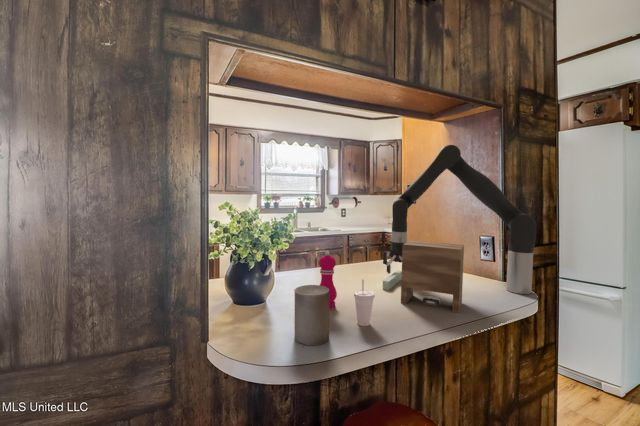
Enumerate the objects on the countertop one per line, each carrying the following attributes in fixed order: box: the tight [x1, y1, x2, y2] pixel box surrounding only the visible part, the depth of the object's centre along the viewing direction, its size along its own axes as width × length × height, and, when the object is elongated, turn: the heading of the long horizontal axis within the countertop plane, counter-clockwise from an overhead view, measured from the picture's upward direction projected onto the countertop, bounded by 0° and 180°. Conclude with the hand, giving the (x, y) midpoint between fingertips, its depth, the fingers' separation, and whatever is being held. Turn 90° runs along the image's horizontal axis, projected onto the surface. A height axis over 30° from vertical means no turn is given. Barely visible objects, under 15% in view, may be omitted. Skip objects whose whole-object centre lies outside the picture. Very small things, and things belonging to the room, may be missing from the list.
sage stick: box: [382, 270, 402, 291], centre depth 149 cm, size 23×2×4 cm, turn 152°
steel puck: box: [422, 295, 441, 307], centre depth 123 cm, size 6×6×2 cm
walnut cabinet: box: [400, 240, 465, 313], centre depth 122 cm, size 12×20×22 cm, turn 62°
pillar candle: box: [293, 284, 330, 346], centre depth 90 cm, size 10×10×15 cm
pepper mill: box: [318, 250, 338, 310], centre depth 116 cm, size 7×7×20 cm
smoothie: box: [353, 278, 376, 327], centre depth 101 cm, size 6×6×14 cm
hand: (397, 274), depth 157 cm, fingers open, 8 cm apart
